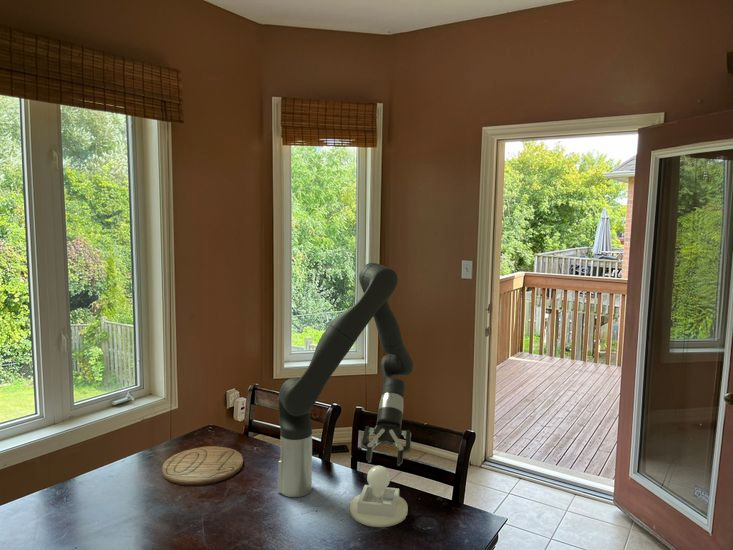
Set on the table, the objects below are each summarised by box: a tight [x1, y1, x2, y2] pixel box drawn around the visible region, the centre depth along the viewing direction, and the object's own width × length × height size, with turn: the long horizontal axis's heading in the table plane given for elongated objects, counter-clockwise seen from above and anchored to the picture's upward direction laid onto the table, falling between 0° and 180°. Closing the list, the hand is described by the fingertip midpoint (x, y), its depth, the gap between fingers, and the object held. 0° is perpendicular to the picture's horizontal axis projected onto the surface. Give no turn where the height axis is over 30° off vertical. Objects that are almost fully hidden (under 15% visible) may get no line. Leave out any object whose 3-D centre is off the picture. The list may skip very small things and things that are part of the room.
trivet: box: [161, 446, 244, 487], centre depth 170 cm, size 25×25×2 cm
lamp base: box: [349, 484, 409, 528], centre depth 145 cm, size 16×16×4 cm
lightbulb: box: [366, 465, 391, 503], centre depth 145 cm, size 6×6×11 cm
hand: (383, 463), depth 151 cm, fingers open, 8 cm apart
